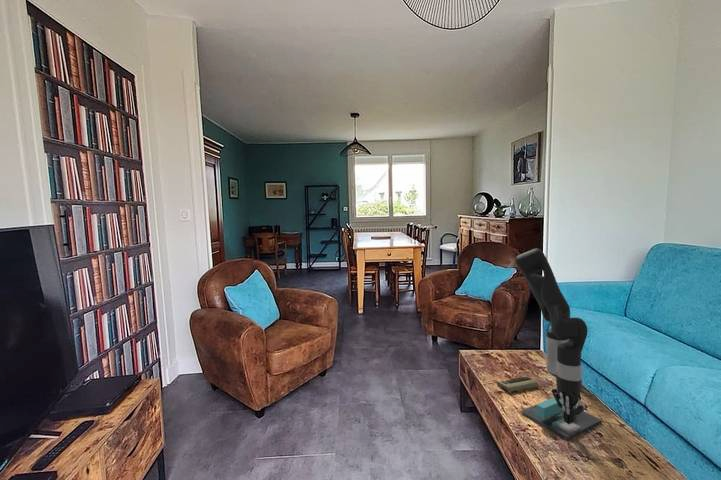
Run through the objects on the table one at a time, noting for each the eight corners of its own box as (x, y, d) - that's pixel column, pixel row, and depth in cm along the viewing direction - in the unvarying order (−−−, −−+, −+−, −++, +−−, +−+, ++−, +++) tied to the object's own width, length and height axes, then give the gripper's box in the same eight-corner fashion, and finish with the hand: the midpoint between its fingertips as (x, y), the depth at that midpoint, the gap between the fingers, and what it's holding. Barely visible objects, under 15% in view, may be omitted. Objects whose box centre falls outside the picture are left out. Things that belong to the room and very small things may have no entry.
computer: (525, 380, 157) (525, 373, 157) (538, 388, 149) (538, 381, 149) (496, 385, 153) (496, 378, 153) (508, 394, 145) (508, 387, 145)
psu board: (554, 399, 139) (554, 393, 139) (601, 423, 123) (601, 416, 123) (521, 413, 130) (521, 407, 130) (567, 440, 114) (567, 433, 114)
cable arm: (569, 400, 133) (569, 389, 133) (578, 404, 130) (578, 393, 130) (535, 414, 125) (535, 403, 124) (544, 419, 121) (544, 407, 121)
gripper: (544, 368, 122) (544, 414, 123) (577, 385, 109) (576, 436, 110) (561, 365, 124) (561, 410, 125) (595, 381, 111) (594, 431, 112)
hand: (568, 422), depth 118 cm, fingers closed
